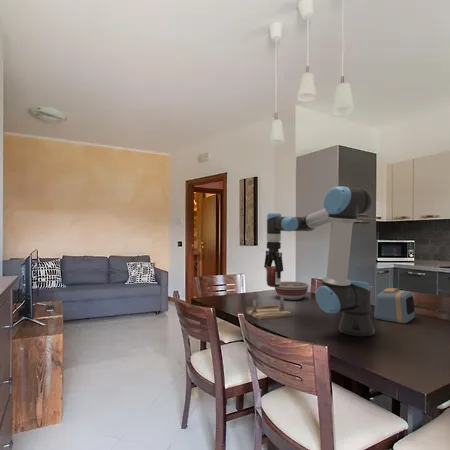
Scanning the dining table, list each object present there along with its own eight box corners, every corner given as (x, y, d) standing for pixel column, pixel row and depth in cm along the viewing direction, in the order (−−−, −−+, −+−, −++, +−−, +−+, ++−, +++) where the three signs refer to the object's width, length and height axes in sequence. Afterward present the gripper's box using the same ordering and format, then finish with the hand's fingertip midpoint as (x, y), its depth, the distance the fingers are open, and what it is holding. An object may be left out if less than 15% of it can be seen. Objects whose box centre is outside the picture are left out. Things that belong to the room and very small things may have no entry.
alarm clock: (407, 325, 168) (406, 292, 168) (372, 319, 179) (372, 288, 179) (416, 318, 180) (415, 288, 180) (383, 313, 191) (383, 285, 191)
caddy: (292, 315, 186) (292, 300, 186) (258, 319, 179) (258, 302, 179) (277, 309, 201) (277, 295, 201) (245, 312, 193) (245, 297, 194)
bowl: (274, 295, 247) (274, 281, 248) (306, 295, 244) (306, 281, 244) (274, 301, 225) (274, 286, 225) (310, 302, 222) (310, 286, 222)
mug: (266, 283, 194) (267, 265, 194) (282, 284, 192) (282, 266, 192) (263, 288, 183) (264, 269, 182) (280, 289, 181) (280, 270, 180)
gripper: (290, 242, 179) (290, 285, 179) (270, 240, 199) (269, 279, 199) (277, 242, 176) (277, 286, 176) (258, 240, 197) (257, 279, 197)
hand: (273, 282), depth 188 cm, fingers closed on mug, 9 cm apart
